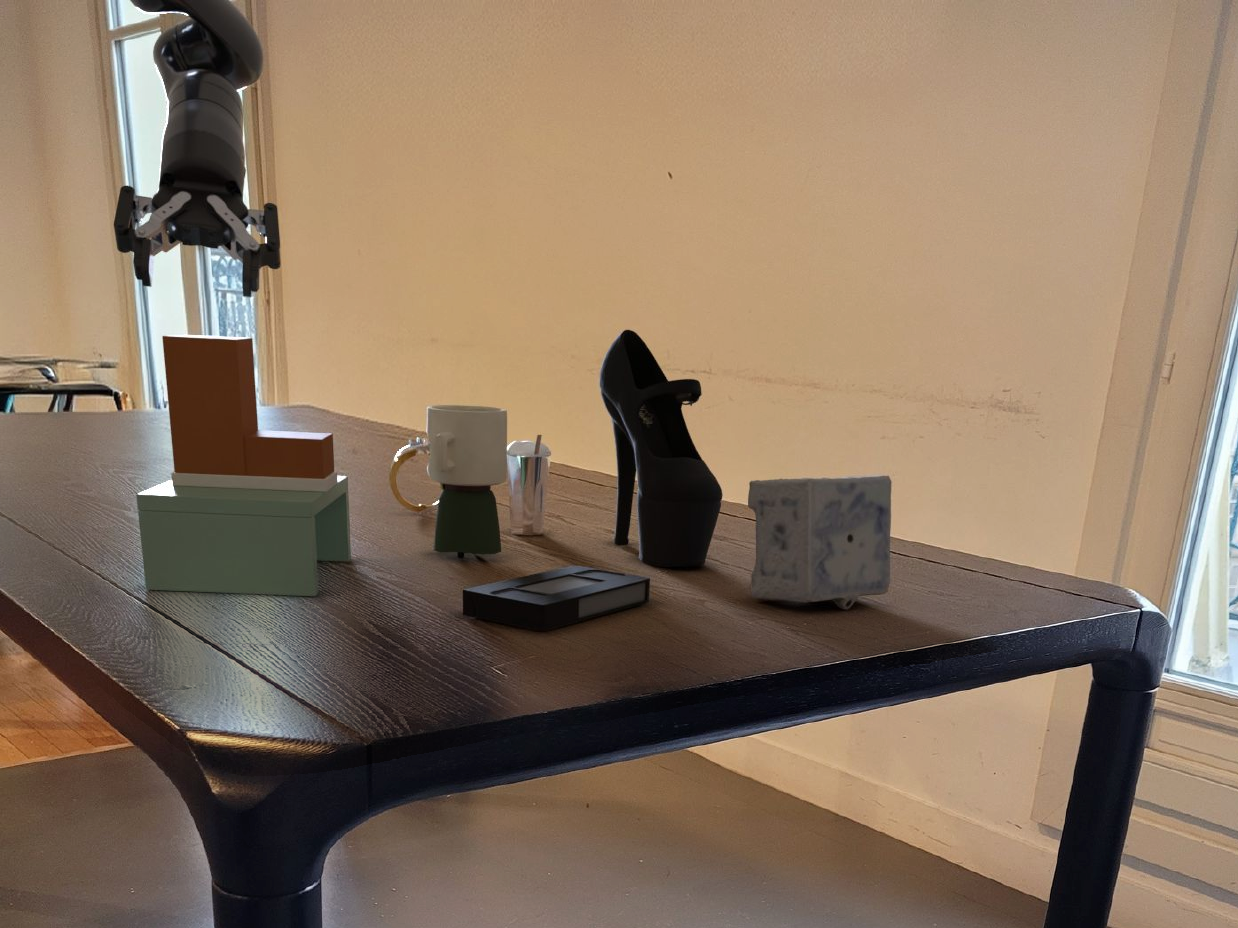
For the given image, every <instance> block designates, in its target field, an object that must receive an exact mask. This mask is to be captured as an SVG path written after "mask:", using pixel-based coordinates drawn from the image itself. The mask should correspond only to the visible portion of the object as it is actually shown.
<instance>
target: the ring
mask: <svg viewBox="0 0 1238 928" xmlns="http://www.w3.org/2000/svg"><path fill="white" fill-rule="evenodd" d="M417 454H418V455H425V454H428V456H430V444H429V439H428V437H424V438H422V437H420V436H417V437H416V442H413V440H412V438H408V445H406V446H404V447H402V448H401V449H399V451H397V453H396V454H395V456H394V458H393V460H392V461H391V465H390V469H389V470H390V471H389V485H390V489H391V492H392V494H393V497H394V498H395V499H396V500H397V502H398V503H399V504H400V505H402V506H403V507H404V508H406V509H407V510H409V511H412V512H414V513H418V514H419V515H422V516H424V515H427V514H428V513H432V512H436V511H437V509H438V501H436V502H435V503H432V504H429V505H427V504H425V503H419V504H418V505H416V504H413V503H411V502H409V501H408V500H406V499H405V498H404V497H403V496H402V494H401V493H400V490H399V489H398V488H399V487H398V485H397V484H398V483H397V475H398V472H399V470H400V468H401V467H402V465H403V464H404V463H405V462H407V461H408V460H409V459H411V458H414V457H415V456H416V455H417Z"/></svg>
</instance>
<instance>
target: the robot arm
mask: <svg viewBox="0 0 1238 928" xmlns="http://www.w3.org/2000/svg"><path fill="white" fill-rule="evenodd" d="M129 1H130V2H131V3H132V5H133V6H134V7H135V8H136V9H137V10H138V11H140V12H142V13H143V14H148V15H149V14H150V15H157V14H167V13H179V14H184V15H185V16H188V17H189V18H188V19H186V20H184V21H182V22H180V23H177V24H175V25H173V26H171V27H168V28H167V29H165V30H163V32H161V33H160V34H159V36H158V37H157V39H156V41H155V42H154V45H153V49H152V57H153V62H154V65H155V68H156V72H157V74H158V76H159V78H160V80H161V83H162V86H163V89H164V90H163V91H164V93H165V97H166V101H167V106H166V108H167V110H166V123H165V126H164V129H163V133H162V139H161V152H160V164H159V165H160V166H159V167H160V168H159V178H158V190H157V191H156V192H155V193H154V194H153V195H152V197H149V196H142V195H136V191H135V188H134V187H133V186H131V185H122V186H121V187H120V189H119V195H118V200H117V205H116V210H115V214H114V220H113V231H114V237H115V243H116V249H117V251H118V252H120V253H123V254H129V253H130V252H132V253H133V260H132V264H133V270H134V276H135V279H136V280H138V281H142V286H143V287H149V288H152V286H153V274H154V272H153V271H154V257H155V256H156V255H158V254H160V253H161V252H163V253H168V252H169V251H171V250H173V249H174V248H176V247H177V246H179V244H181V243H182V244H181V245H182V246H188V247H189V246H190V247H195V246H196V247H197V246H201V247H205V248H209V249H216V250H217V249H219V247H221V248H222V249H223V250H224V251H225V252H226V253H227V254H228V255H229V256H230V257H231V258H232V259H233V260H234V261H239V262H240V263H241V264H242V268H241V269H242V270H241V271H242V272H241V276H242V277H241V281H242V296H243V297H244V298H252V292H253V293H258V291H259V289H260V275H261V274H260V273H261V272H260V270H261V269H262V268H263V267H266V266H267V268H270V269H272V270H279V269H280V268H281V264H282V263H281V262H282V261H281V251H280V250H281V237H280V225H279V224H280V223H279V214H278V213H279V212H278V206H277V205H276V204H275V203H272V202H266V203H265V204H263V209H253V208H248V207H247V205H246V203H245V178H246V173H247V169H246V151H245V145H244V115H245V114H244V104H243V100H242V98H241V95H240V93H239V91H241V90H244V89H246V88H248V87H251V86H252V85H254V84H256V83H257V82H258V81H259V80H260V78H261V77H262V75H263V73H264V70H265V53H264V49H263V46H262V43H261V41H260V38H259V36H258V34H257V32H256V30H255V29H254V27H253V26H252V24H251V23H250V21H249V20H248V19H247V17H246V16H245V15H244V14H243V12H242V11H240V10H239V8H238V7H236V5H235V4H234V3H233V2H232V1H230V0H129ZM147 214H148V215H149V214H150V215H149V219H148V220H147V221H146V222H144V223H143V224H142V219H144V218H145V216H146V215H147ZM137 224H142V225H140V226H138V227H136V226H137ZM249 225H250V226H253V227H254V228H255V231H256V232H257V233H258V234H259V236H260V238H264V240H265V243H264V242H263V243H259V241H258V240H256V238H254V237H253V236H252V235H251V234H250V232H249V231H248V230H247V229H248V227H249Z"/></svg>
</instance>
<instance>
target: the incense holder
mask: <svg viewBox="0 0 1238 928" xmlns="http://www.w3.org/2000/svg"><path fill="white" fill-rule="evenodd" d="M892 484H893V483H892V479H891V477H890V475H885V474H884V475H882V474H877V475H876V474H875V475H859V476H846V477H834V478H830V477H821V478H812V477H801V478H775V479H763V480H761V479H760V480H759V479H757V480H755V479H754V480H750V481H749V483H748V485H749V489H748V495H747V507H748V508H749V509H751V510H752V511H753V512H754V514H755V563H754V567H753V570H752V573H751V575H750V579H751V580H750V594H751V595H752V598H754V599H755V600H761V601H767V600H774V601H784V602H795V603H815V602H816V603H817V602H823V601H830V600H831V601H832V602H834V603H835V605H836V606H837V607H838V608H839V609H841V610H843V611H845V610H849V609H850V608H851V607H852V606H853V605H854V603H855V602H856V600H857V598H859V597H862V596H863V597H864V596H865V597H866V596H879V595H885V594H886V593H888V592H889V587H890V583H891V531H892V530H891V529H892Z"/></svg>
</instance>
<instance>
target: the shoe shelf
mask: <svg viewBox="0 0 1238 928" xmlns="http://www.w3.org/2000/svg"><path fill="white" fill-rule="evenodd" d="M337 477H338V483H337V484H336V485H334V486H333V487H332V488H331V489H329V490H328V491H327V492H305V491H282V490H258V489H234V488H210V487H187V486H173V485H172V479H170V480H167V481H166V482H163V483H161V484H158V485H156V486H153V487H151V488H149V489H146V490H144V491H141V492H138V493H136V495H135V496H136V504H137V505H136V507H137V514H138V523H139V535H140V543H141V544H140V545H141V554H142V564H143V574H144V583H145V589H146V590H147V591H168V592H191V593H194V592H195V593H215V594H216V593H217V594H218V593H219V594H243V595H263V596H266V595H267V596H289V597H316V596H317V595H318V594H319V575H318V574H319V573H318V562H319V561H320V562H322V561H323V562H341V563H342V562H344V563H349V562H350V561H351V560H352V551H351V549H352V548H351V546H352V545H351V525H350V523H351V522H350V499H349V498H350V496H349V476H347V475H337Z"/></svg>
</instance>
